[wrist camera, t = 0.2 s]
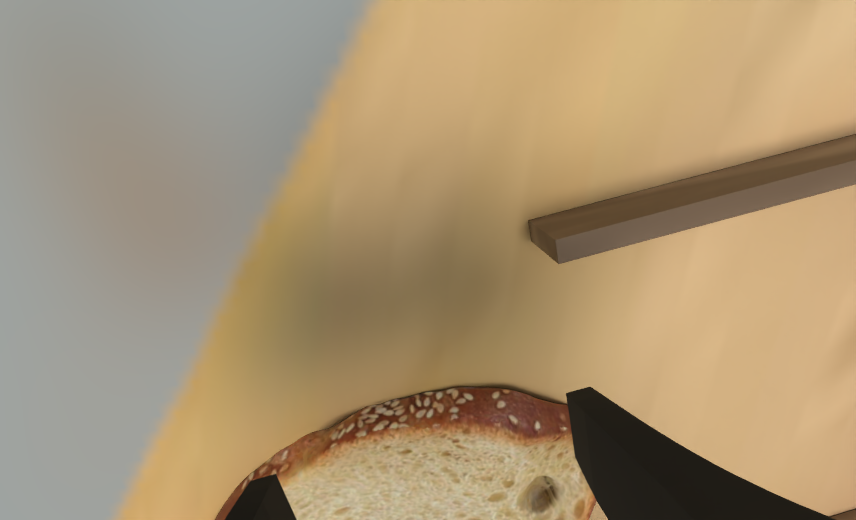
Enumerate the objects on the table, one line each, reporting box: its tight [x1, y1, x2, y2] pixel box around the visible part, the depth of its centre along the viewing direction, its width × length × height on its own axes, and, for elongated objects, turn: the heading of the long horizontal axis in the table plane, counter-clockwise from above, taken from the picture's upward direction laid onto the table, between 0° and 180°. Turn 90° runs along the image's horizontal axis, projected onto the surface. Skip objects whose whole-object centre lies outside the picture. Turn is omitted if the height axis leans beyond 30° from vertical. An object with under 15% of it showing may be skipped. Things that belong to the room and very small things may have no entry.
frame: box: [529, 134, 856, 520], centre depth 23 cm, size 26×20×3 cm
